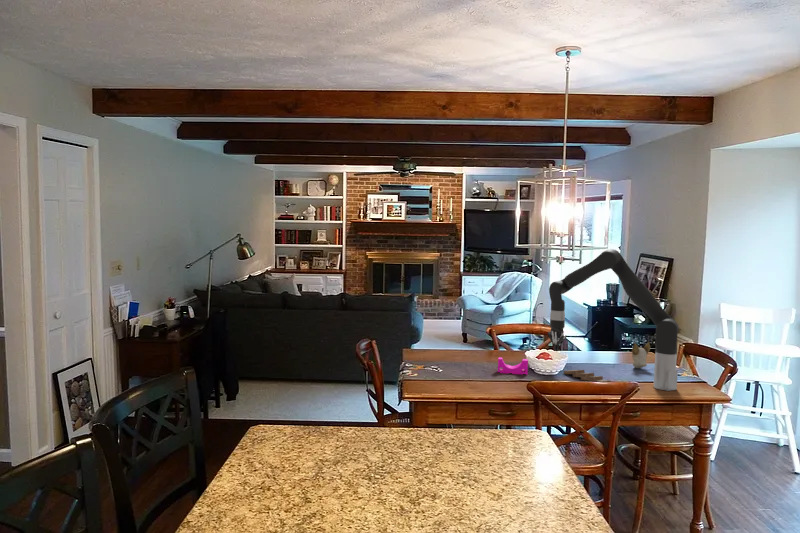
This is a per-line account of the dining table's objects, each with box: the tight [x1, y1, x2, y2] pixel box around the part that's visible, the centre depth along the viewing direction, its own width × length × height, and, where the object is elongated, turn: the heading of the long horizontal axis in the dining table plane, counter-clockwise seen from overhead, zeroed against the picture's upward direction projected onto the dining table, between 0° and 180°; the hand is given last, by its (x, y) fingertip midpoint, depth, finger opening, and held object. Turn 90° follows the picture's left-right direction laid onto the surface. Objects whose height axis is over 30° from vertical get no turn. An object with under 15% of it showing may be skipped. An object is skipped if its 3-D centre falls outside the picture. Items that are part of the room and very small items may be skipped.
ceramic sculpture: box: [631, 341, 651, 369], centre depth 307 cm, size 11×9×15 cm
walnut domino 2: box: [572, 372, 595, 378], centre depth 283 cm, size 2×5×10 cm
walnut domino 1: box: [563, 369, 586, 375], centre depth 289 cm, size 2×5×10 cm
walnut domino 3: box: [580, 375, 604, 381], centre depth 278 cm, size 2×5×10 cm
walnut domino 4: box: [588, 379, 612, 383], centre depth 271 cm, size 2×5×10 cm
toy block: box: [497, 356, 529, 376], centre depth 294 cm, size 15×6×8 cm, turn 78°
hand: (556, 350), depth 302 cm, fingers closed
